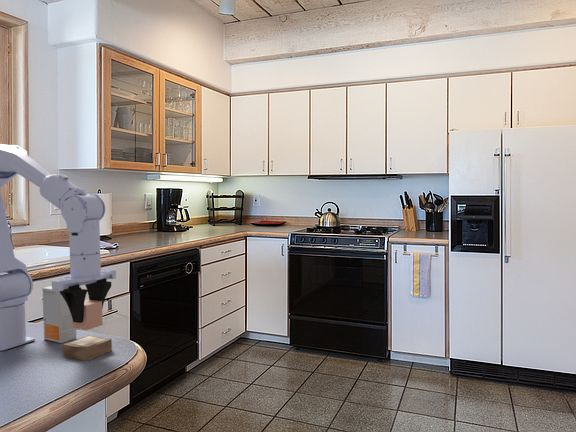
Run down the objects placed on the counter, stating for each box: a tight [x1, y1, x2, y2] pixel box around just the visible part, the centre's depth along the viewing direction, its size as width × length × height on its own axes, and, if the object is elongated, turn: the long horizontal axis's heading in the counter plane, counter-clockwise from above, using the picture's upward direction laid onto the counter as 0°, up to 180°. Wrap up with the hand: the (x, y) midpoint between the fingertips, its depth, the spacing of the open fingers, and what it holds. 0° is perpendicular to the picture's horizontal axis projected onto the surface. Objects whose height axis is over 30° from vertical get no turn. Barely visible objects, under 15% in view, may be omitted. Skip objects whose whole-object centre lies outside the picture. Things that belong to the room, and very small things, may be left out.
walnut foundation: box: [62, 334, 113, 362], centre depth 95 cm, size 6×6×3 cm
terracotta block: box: [72, 299, 104, 331], centre depth 95 cm, size 4×4×5 cm
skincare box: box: [42, 285, 77, 344], centre depth 104 cm, size 6×4×12 cm
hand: (87, 319), depth 95 cm, fingers closed on terracotta block, 4 cm apart
